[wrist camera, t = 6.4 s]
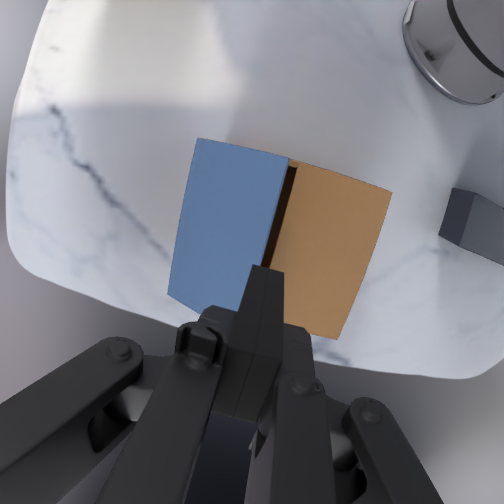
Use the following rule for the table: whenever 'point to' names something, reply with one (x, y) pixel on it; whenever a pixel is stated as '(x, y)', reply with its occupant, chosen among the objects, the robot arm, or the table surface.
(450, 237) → the case
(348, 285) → the carton
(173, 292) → the flap
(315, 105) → the table surface
